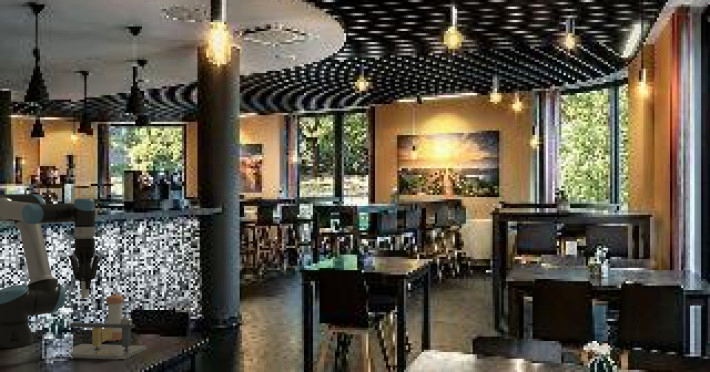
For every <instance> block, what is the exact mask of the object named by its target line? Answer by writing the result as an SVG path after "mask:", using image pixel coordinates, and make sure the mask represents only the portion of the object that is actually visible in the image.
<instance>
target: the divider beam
mask: <svg viewBox="0 0 710 372" xmlns="http://www.w3.org/2000/svg"><path fill="white" fill-rule="evenodd" d="M69 327H70V328H72V327H74V328H94V327H98V328H102V329H104V328H122V340H121V345H122V347H125V349H128V347H129V346H131V345H132V329H134V328H136V323H135V324H134V323H133V318H129V317H126V318H124V317H123V319H121V324H108V323H107V322H106V323H104V322H102V323H99V322H70V323H69Z"/></svg>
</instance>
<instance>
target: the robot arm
mask: <svg viewBox="0 0 710 372" xmlns="http://www.w3.org/2000/svg"><path fill="white" fill-rule="evenodd" d="M0 221H1V222H13V224H14V228H16V229H17V230H19V233H20V238H21V243H22V249H23V254H24V257H25V263H26V267H27V273H28V277H29V282H28V283H27V284H18V285H11V286H7V287H4V288H1V289H0V349H12V348H14V349H15V348H21V347H25V346H28V345H32V344H33V343H34V336H33V334H32V331H31V328H30V326H29V317H32V316H39V315H40V316H41V315H47V314H52V313H57V312H59V311H58V309H59V308H62V309H63V307H64V304H65V302H66V289H65V287H64V285H63V284H61V283H58V280H57V278H55V277H54V276H52V270H51V266H50V261H49V257H48V252H47V248H46V247H47V246H46V243H45V237H44V233H43V229H42V225H43V224H54V223H55V224H56V223H57V224H58V223H74V239H73V240H74V241H73V243H74V249H75V250H74V251H73V253H72V254H71V255H70V254H69V256H68V258H69V260H70V263H71V267H72V271H73V277H74V280H77V281H78V282H79V290H81V291H80V293H81V295H80V296H81V297H80V298H81V299H87V298H89V297H90V290H91V281H93V280H96V276H97V272H98V267H99V261H100V260H101V258H102V255H100V254H97V253H96V250H95V248H96V239H95V236H96V226H95V225H96V204H95V200H94V198H75V199H74V201H73V203H71V202H69V203H68V202H66V203H46V201H45V199H44V198H43V196H41V195H39V194H35V193H34V194H33V193H17V194H16V193H11V194H10V193H4V194H0Z"/></svg>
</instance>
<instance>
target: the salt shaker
mask: <svg viewBox="0 0 710 372" xmlns="http://www.w3.org/2000/svg"><path fill="white" fill-rule="evenodd" d="M124 301H125V298H124V296H122V295H120V294H117V293H116V292H114V293H113V294H112V295H109V296H107V298H106V299H105V302H106V303H107V319H106V323H108V324H121V319H124V317H123V303H124ZM121 339H122V328H112V339H109V340H107V342H117V341H116V340H119V341H122V340H121Z"/></svg>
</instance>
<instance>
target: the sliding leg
mask: <svg viewBox="0 0 710 372" xmlns="http://www.w3.org/2000/svg"><path fill="white" fill-rule="evenodd" d="M91 329H92V330H91V334H92V335H91V339H92V341H91V344H92V346H96V348H98V346H100V345H102V343H104V342H106V341H107V340H109V339H112V328H98V327H91ZM107 342H108V341H107Z"/></svg>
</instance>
